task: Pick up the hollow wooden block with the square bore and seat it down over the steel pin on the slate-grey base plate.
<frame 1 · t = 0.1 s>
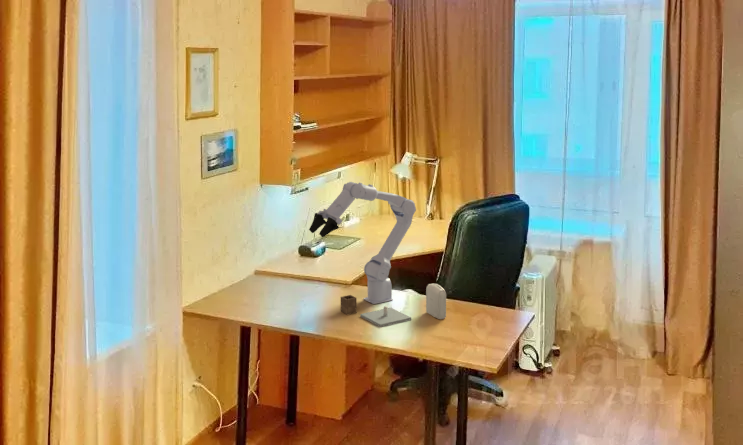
hand: (315, 233, 321), 32 cm above the table, tool tilted 50°, fingers open, 7 cm apart
pin base: (385, 318, 322), on the table
photo printer: (435, 315, 325), on the table
hollow wooden block: (348, 312, 329), on the table
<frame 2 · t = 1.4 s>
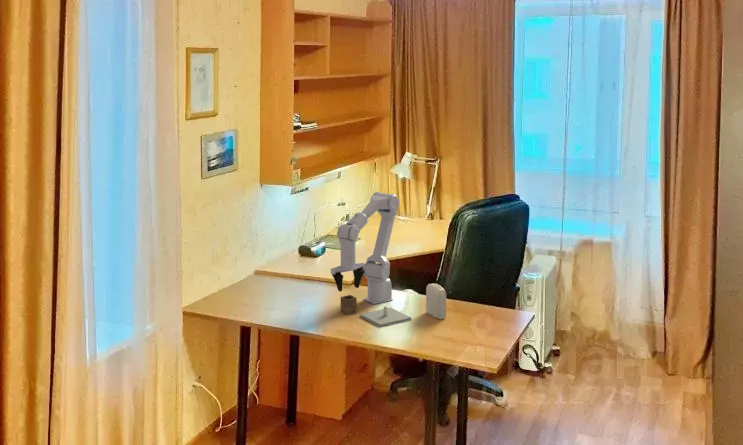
hand: (348, 289, 327), 9 cm above the table, tool pointing down, fingers open, 7 cm apart
nothing on the table moved.
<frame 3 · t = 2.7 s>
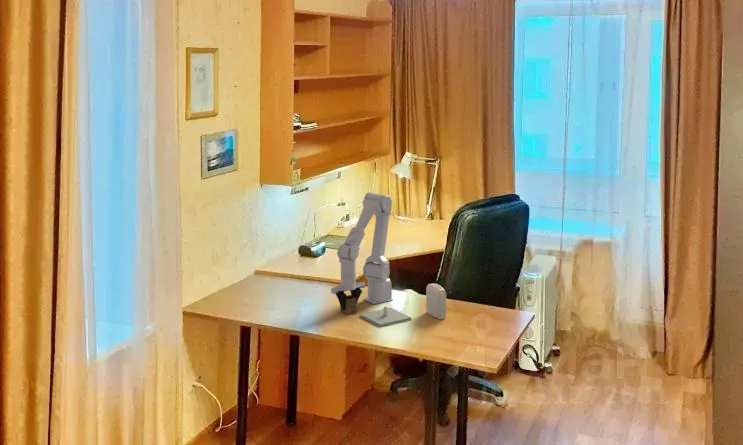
hand: (348, 308, 329), 2 cm above the table, tool pointing down, fingers closed on hollow wooden block, 4 cm apart
hollow wooden block: (348, 312, 329), on the table, touching gripper
everything else where it was.
when the fingers open (4 cm above the table, at t = 8.0 s): hollow wooden block drops 1 cm, resting on pin base.
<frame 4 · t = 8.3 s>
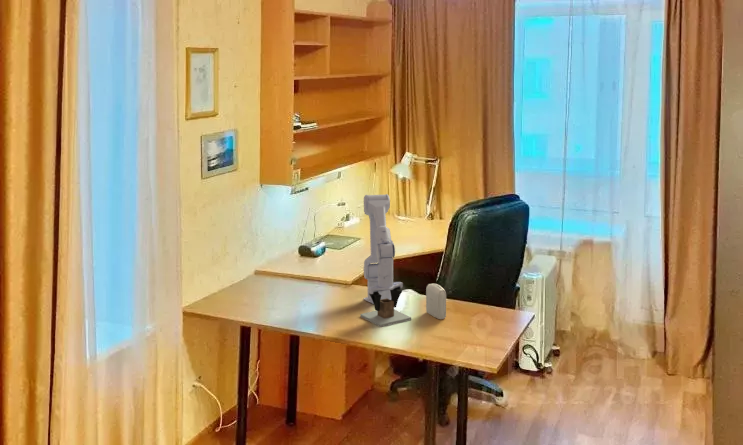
hand: (385, 308, 321), 4 cm above the table, tool pointing down, fingers open, 7 cm apart
hollow wooden block: (385, 315, 322), point 1 cm above the table, touching pin base
everything else where it was.
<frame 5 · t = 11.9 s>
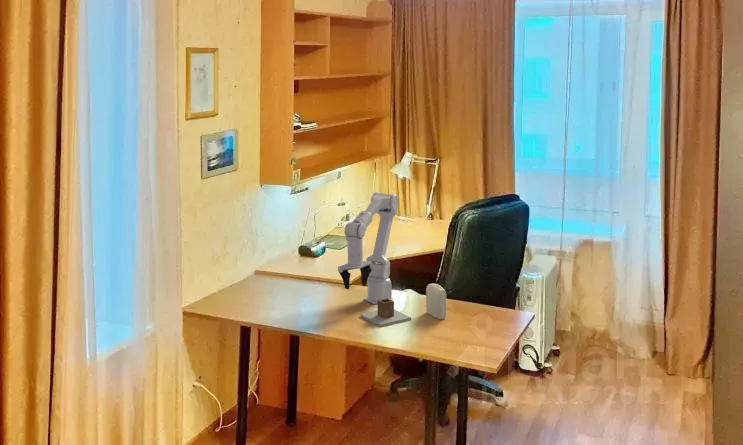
hand: (355, 287, 326), 10 cm above the table, tool pointing down, fingers open, 7 cm apart
nothing on the table moved.
at the end: hollow wooden block 0.0 cm off-centre on the pin base, point 1.0 cm above the pin base's base; hollow wooden block tilted 0°; the gripper is holding nothing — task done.
